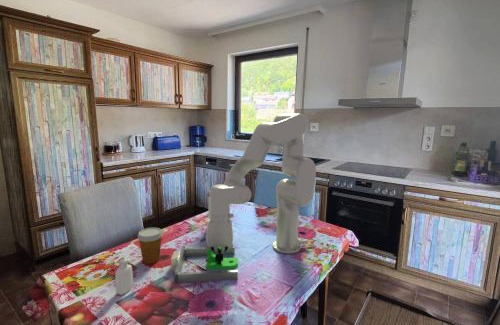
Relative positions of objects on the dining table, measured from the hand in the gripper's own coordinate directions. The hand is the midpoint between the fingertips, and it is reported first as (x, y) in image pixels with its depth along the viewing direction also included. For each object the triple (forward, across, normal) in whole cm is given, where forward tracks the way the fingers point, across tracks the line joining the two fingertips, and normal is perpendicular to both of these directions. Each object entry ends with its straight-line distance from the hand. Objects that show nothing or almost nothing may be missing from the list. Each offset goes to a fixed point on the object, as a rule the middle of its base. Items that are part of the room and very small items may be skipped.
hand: (219, 261), depth 103 cm
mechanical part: (+3, -1, -1) cm, 3 cm away
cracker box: (+2, 0, -32) cm, 32 cm away
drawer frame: (+2, +4, 0) cm, 5 cm away
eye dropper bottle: (+2, +31, +12) cm, 34 cm away
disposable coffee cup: (+2, +27, -7) cm, 28 cm away
